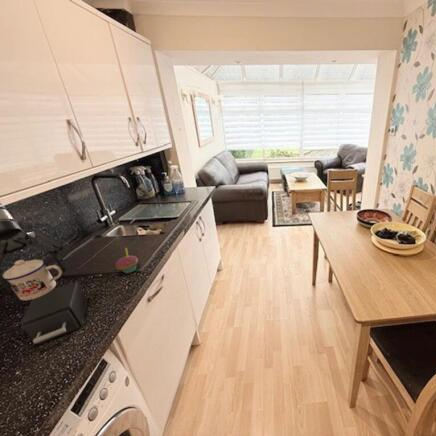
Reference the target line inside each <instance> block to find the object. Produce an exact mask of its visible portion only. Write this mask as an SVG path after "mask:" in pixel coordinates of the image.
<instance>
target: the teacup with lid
mask: <svg viewBox="0 0 436 436" xmlns="http://www.w3.org/2000/svg"><path fill="white" fill-rule="evenodd" d="M52 269H54V270H57V271H58V274H57V275H56V276H52V274H51V272H50V271H49V270H52ZM62 273H63V272H62V269H61V268H60V267H59V266H58V265H57V264H56V265H54V264H52V265H48V266H46V263H45V261H44V260H42V259H31V260H24V259H18V260H16V261H15V262H14V265H12V266H11V267H10V268H8V269H7V270H5V271H4V272H3V274H2V277H3V279H4V280H5V281H6V283H7V284H8V286H9V287H10V288H11V290H12V291H13V292H14V294H15V295H16V296H17V297H18V299H19V300H21V301H32V299H35V298H38V297H40V296H42V295H44V294H46V293H48V292H50V291H51V290H52V289H55V288H56V286H57V282H56V280H58V279H59V278H60V277H61V276H62Z"/></svg>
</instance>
